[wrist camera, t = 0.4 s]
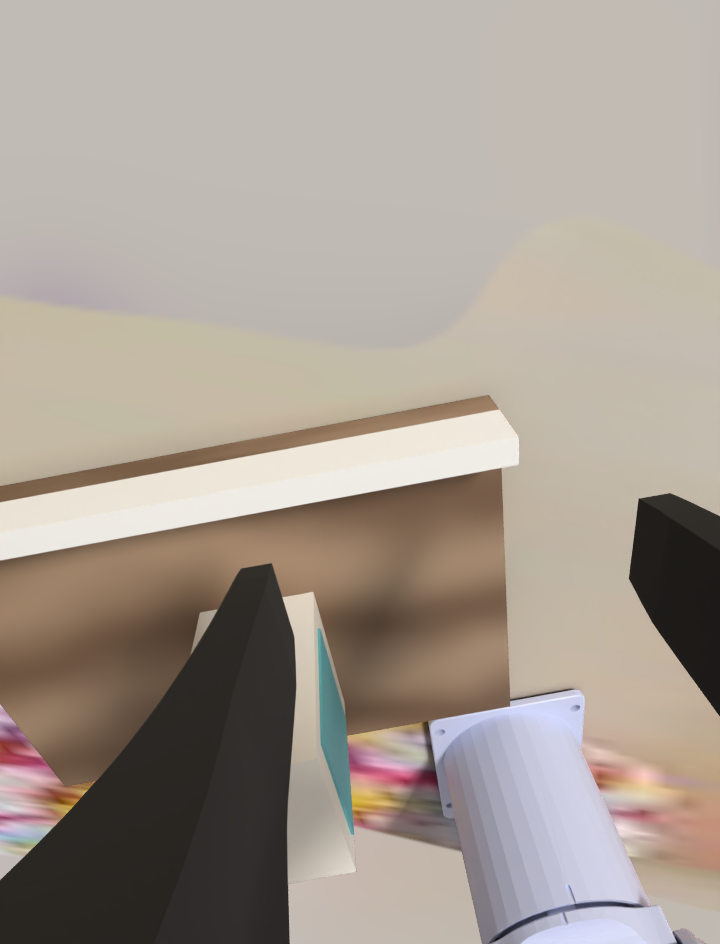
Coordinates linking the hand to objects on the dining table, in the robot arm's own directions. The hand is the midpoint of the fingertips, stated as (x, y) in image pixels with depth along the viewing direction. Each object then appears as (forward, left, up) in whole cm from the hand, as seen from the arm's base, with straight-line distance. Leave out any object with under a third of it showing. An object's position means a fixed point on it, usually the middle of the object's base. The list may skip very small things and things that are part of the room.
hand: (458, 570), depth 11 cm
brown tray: (-9, +8, -10) cm, 15 cm away
